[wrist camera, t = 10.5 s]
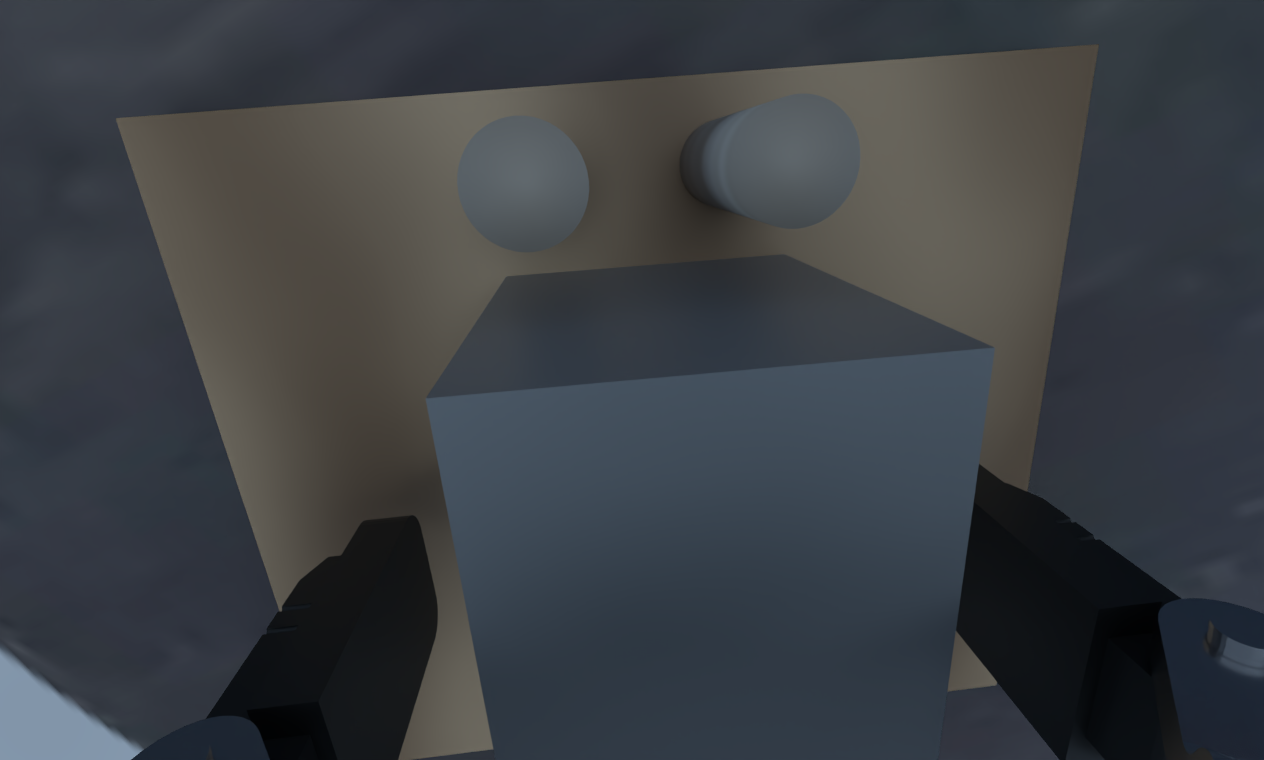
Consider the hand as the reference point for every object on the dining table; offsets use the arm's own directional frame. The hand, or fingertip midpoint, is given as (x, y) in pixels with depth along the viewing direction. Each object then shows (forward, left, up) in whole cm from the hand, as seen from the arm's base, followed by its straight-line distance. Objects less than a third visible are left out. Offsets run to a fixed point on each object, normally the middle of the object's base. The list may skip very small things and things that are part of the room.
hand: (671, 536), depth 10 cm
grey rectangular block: (0, 0, -3) cm, 3 cm away
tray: (0, 0, -4) cm, 4 cm away
